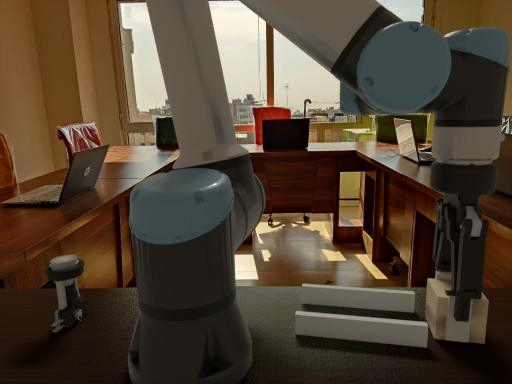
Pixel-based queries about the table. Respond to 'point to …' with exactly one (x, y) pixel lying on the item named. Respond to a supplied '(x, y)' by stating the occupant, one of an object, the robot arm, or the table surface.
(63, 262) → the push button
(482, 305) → the maple block
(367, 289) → the channel
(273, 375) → the table surface
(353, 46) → the robot arm
